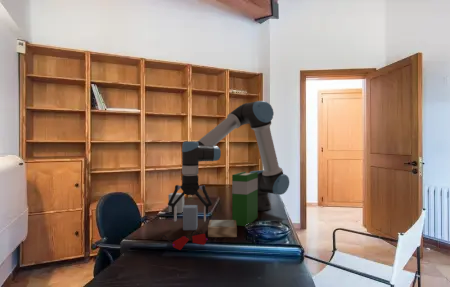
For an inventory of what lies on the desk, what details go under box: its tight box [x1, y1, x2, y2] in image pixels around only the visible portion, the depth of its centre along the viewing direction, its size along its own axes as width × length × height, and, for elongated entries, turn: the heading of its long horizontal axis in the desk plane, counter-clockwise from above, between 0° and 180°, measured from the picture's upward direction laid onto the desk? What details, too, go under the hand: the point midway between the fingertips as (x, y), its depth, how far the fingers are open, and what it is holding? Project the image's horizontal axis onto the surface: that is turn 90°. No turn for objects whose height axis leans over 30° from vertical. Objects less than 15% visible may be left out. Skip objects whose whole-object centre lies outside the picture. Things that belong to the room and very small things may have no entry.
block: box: [182, 204, 199, 231], centre depth 136 cm, size 6×6×10 cm
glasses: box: [160, 230, 209, 251], centre depth 117 cm, size 14×16×5 cm
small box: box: [167, 192, 185, 214], centre depth 168 cm, size 8×6×10 cm
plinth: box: [207, 219, 238, 238], centre depth 129 cm, size 12×12×4 cm
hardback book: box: [231, 171, 258, 227], centre depth 148 cm, size 18×7×24 cm, turn 157°
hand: (190, 220), depth 136 cm, fingers open, 13 cm apart
